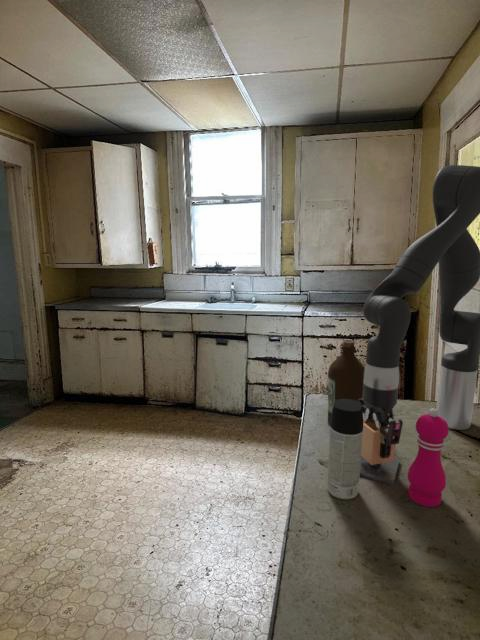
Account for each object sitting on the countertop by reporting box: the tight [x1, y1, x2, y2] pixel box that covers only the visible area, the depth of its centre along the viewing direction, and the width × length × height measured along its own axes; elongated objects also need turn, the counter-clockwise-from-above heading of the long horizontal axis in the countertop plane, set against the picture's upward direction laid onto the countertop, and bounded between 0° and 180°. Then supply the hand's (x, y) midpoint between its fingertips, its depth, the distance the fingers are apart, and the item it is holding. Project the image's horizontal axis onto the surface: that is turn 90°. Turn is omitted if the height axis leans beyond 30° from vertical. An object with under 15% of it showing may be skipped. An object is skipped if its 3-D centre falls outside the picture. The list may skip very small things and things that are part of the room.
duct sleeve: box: [361, 421, 396, 465], centre depth 93 cm, size 6×6×8 cm
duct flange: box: [360, 456, 400, 485], centre depth 94 cm, size 10×10×7 cm
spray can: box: [326, 399, 364, 500], centre depth 83 cm, size 7×7×20 cm
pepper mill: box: [407, 407, 450, 508], centre depth 81 cm, size 7×7×20 cm
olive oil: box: [327, 339, 365, 426], centre depth 114 cm, size 11×11×25 cm
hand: (375, 449), depth 93 cm, fingers open, 6 cm apart
